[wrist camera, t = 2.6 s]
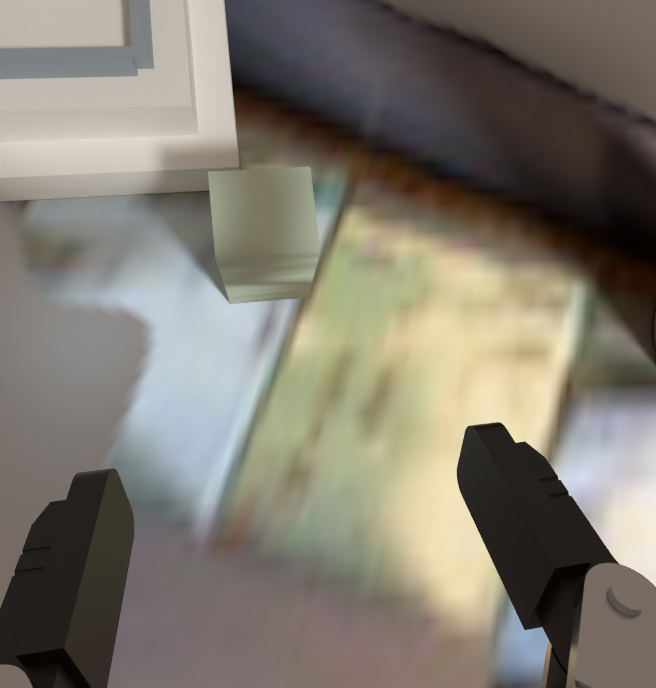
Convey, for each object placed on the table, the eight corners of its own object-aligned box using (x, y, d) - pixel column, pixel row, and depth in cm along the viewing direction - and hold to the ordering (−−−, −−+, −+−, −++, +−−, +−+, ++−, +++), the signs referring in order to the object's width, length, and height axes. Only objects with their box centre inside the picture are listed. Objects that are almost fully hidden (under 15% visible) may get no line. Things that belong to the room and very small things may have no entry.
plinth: (220, -40, 32) (208, -146, 26) (241, 188, 29) (234, 128, 23) (-47, -42, 30) (-125, -158, 24) (-49, 204, 27) (-138, 141, 21)
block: (300, 232, 29) (310, 166, 22) (308, 297, 29) (320, 251, 21) (224, 237, 29) (207, 171, 21) (230, 303, 28) (215, 258, 21)
